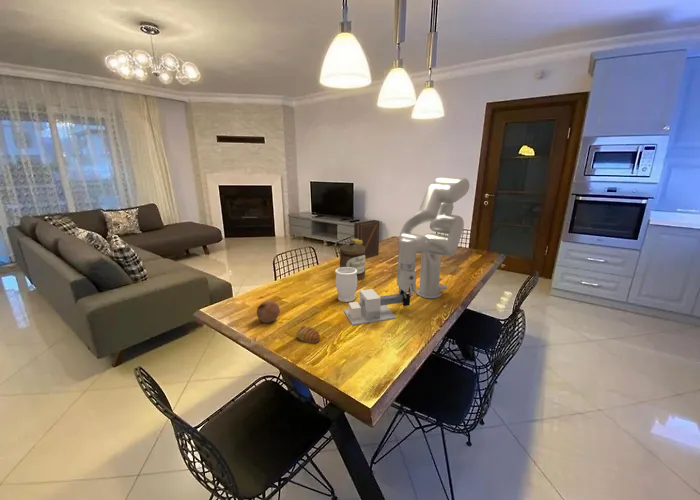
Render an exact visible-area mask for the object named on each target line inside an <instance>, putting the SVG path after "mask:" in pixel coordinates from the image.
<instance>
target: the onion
mask: <svg viewBox="0 0 700 500" xmlns="http://www.w3.org/2000/svg"><path fill="white" fill-rule="evenodd" d="M280 312H281V309H280V306H279V305H278V303H277V302H276V301H274V300H266V301H264V302H262V303H261V304H259V305H258V306H257V309H256V316H257V319H259V320H258V321H261V322H262V323H265V324H268V323H271V322H274V321H275V320H277V318H278V317H279V315H280Z"/></svg>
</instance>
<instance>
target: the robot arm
mask: <svg viewBox="0 0 700 500" xmlns="http://www.w3.org/2000/svg"><path fill="white" fill-rule="evenodd" d="M469 190H470V182H469V179H468V178H466V177H457V176H456V177H455V176H439V177H437V178H435V179H434V181H433V183H431V184H430V185H428V186H427V188H426V191H425V192H424V196H423V197H422V198H423V199H422V201H421V204H420V206H419V209H418V211H417V212H416V213H414V214H413V215H412V216H410V218H408V219H407V220H406V221H405V222H404V224H403V226H402V229H401V231H400V232H399V236H398V241H397V242H398V252H397V275H396V285H397V287H398V294H402V293H404V297H403V303H402V306H404V307H406V306H410V305H411V297H412V296H413V297H414V292H415V293H416V294H417V295H418V296H419V297H421V298H424V299H431V300H432V299H437V298H438V299H439V298H440V297H441V296H442V290H443V291H444V290H448V286H447V285H442V284H440V278H441V277H440V276H441V274H440V273H441V264H442V262H441V261H442V260H441V258H440V256H443V257H453V256H454V255H455V254H456V252H457V250H458V247H459V244H460V242H461V239H462V238H461V237H462V234H463V232H464V227H465V221H464V218H463V217H462V216H460V215H458V214H453V210H454V204H455V203H457V202H458V201H459V200H460V199H462V198H463V197H464V196H466V195H467V194H468V192H469ZM425 223H429V229H430V231H432V233H429V232H428V233H425V234H424V235H421V234H416V233H412V232H413V230H414V229H415V228H416V227H418V226H420V225H421V224H425ZM433 232H435V233H433ZM438 233H439V234H438ZM443 234H444V235H443ZM445 234H446V235H445ZM417 254H421V261H420V272H419V273H420V275H419V276H420V277H419V287H418V288H417V287H416V286H417V280H416V278H417V277H416V271H415V270H416V259H417V258H416V257H417ZM406 293H407V295H406Z"/></svg>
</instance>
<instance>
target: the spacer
mask: <svg viewBox="0 0 700 500" xmlns="http://www.w3.org/2000/svg"><path fill="white" fill-rule="evenodd" d="M348 309H349V315H350V316H351V318H352V319H359V318H361V307H360V303H359V302H358V301H353V302H352V301H350V302H348Z"/></svg>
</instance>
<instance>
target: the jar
mask: <svg viewBox="0 0 700 500" xmlns="http://www.w3.org/2000/svg"><path fill="white" fill-rule="evenodd" d="M335 274H336V276H335V287H336V292H337V294H338V296H337V299H338V300H339V301H340V302H343V303H351V302H352V301H353V302H354V301H355V299H356V296H355V295H356V293H357V287H358V281H357V275H356V274H357V269H355V268H352V267H342V268H340V267H338V268H336V269H335Z"/></svg>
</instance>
